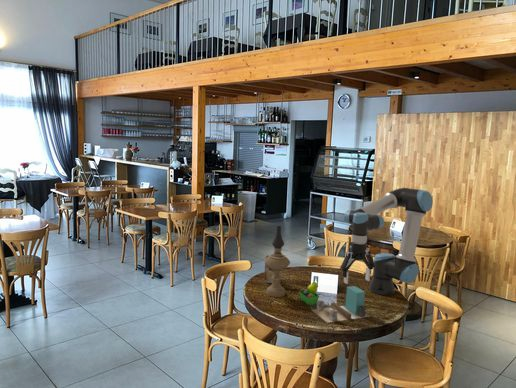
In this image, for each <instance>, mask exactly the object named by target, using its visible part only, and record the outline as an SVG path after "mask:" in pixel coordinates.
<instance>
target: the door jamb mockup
mask: <svg viewBox="0 0 516 388" xmlns="http://www.w3.org/2000/svg"><path fill="white" fill-rule="evenodd" d="M343 298H344V299H343V305H339V304H337V303H336V302H330V307H329V306H328V307H325V300H323V299H320V300H319V299H318V301H317V304H316V308H314V309H311V311H312V312H313V313H314V314H315V315H317V316H318V317H320V319H322V320H323V321H324V322H325V323H327V324H328V323H335V322H341V321H348V320H355V319H361V318H371V315H370V314H369V313H366V310H367V308H366V306H365V305H364V306H359V308H358V315H354V314H353V313H352V312H350V311H349V310H347V309H346V296H345V297H343Z"/></svg>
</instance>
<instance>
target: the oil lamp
mask: <svg viewBox="0 0 516 388" xmlns="http://www.w3.org/2000/svg"><path fill="white" fill-rule="evenodd" d="M275 232H276V233H275V236H274V238H273V240H272V242H271V245H272V246H273V250H274V252H273V253H271V254H269V256H268V257H267V258H266V257H265V258H266V259H265V258H264V265H265V264H266V265H267V266H268V267H270V268H272V269H273V270H274V275H273V276H272V277H271V279H272V283H271V285H270V286H268V287H267V288H266V295H268V296H270V297H273V298H280V297H284V296H285V295H286V290H285V288H284V287H283V286H282V285H281V281H282V276H281V271H282V270H284V269H286V268H288V267H289V265H290V264H291V262H290V259H289V258H288V257H287V256H286V255H285V254H283V253H282V251H283V249H282V248H283V247H284V245H285V243H284V242H285V241H284V239H283V237H282V225H281V226H280V225H276V231H275ZM279 272H280V274H279Z"/></svg>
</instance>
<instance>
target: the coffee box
mask: <svg viewBox="0 0 516 388" xmlns="http://www.w3.org/2000/svg"><path fill="white" fill-rule="evenodd" d="M269 255H270V254H269ZM269 255H268V254H267V255H266V256H265V258H264V260H265V259H266V258H267V257H268V256H269ZM279 274H280V275H281V271H280V272H279ZM273 275H274V270H273V269H272V268H270V267H268V266H267V265H266V264H265V263H264V278H263V279H264V280H263V281H264V283H268V284H272V279H271V277H272V276H273Z"/></svg>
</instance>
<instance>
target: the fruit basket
mask: <svg viewBox="0 0 516 388" xmlns="http://www.w3.org/2000/svg"><path fill="white" fill-rule="evenodd" d="M318 287H319V285H318V282H316V281H313V282H312V283H311V284H309V285H308V286H307V289H301V290H300V289H299V291H298V292H299V296H300V300H301V301H302V302H304V304H306V305H308V306H309V305H317V301H318V300H319V298H320V295H319V294H317V292H318Z"/></svg>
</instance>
